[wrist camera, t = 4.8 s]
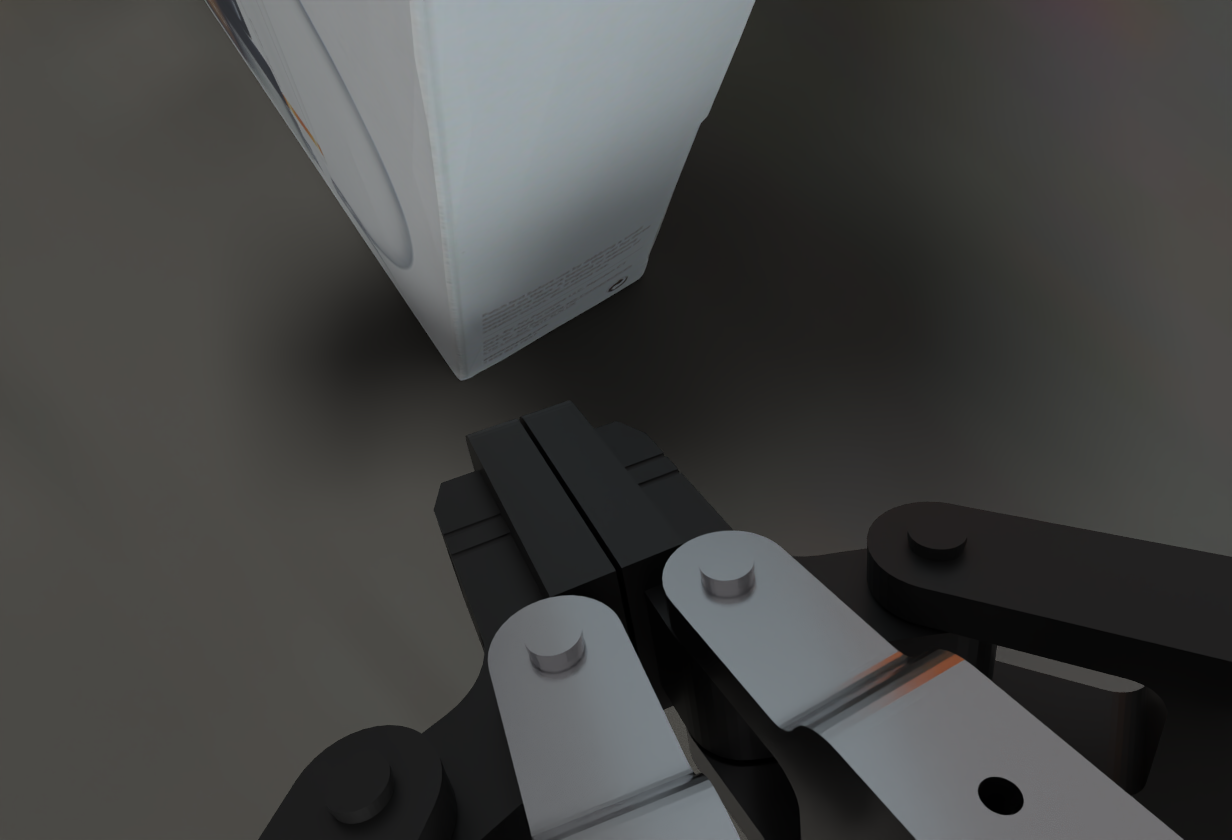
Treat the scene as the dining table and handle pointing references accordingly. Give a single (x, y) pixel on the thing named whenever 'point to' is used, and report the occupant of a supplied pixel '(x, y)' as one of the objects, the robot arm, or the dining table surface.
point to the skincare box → (495, 141)
